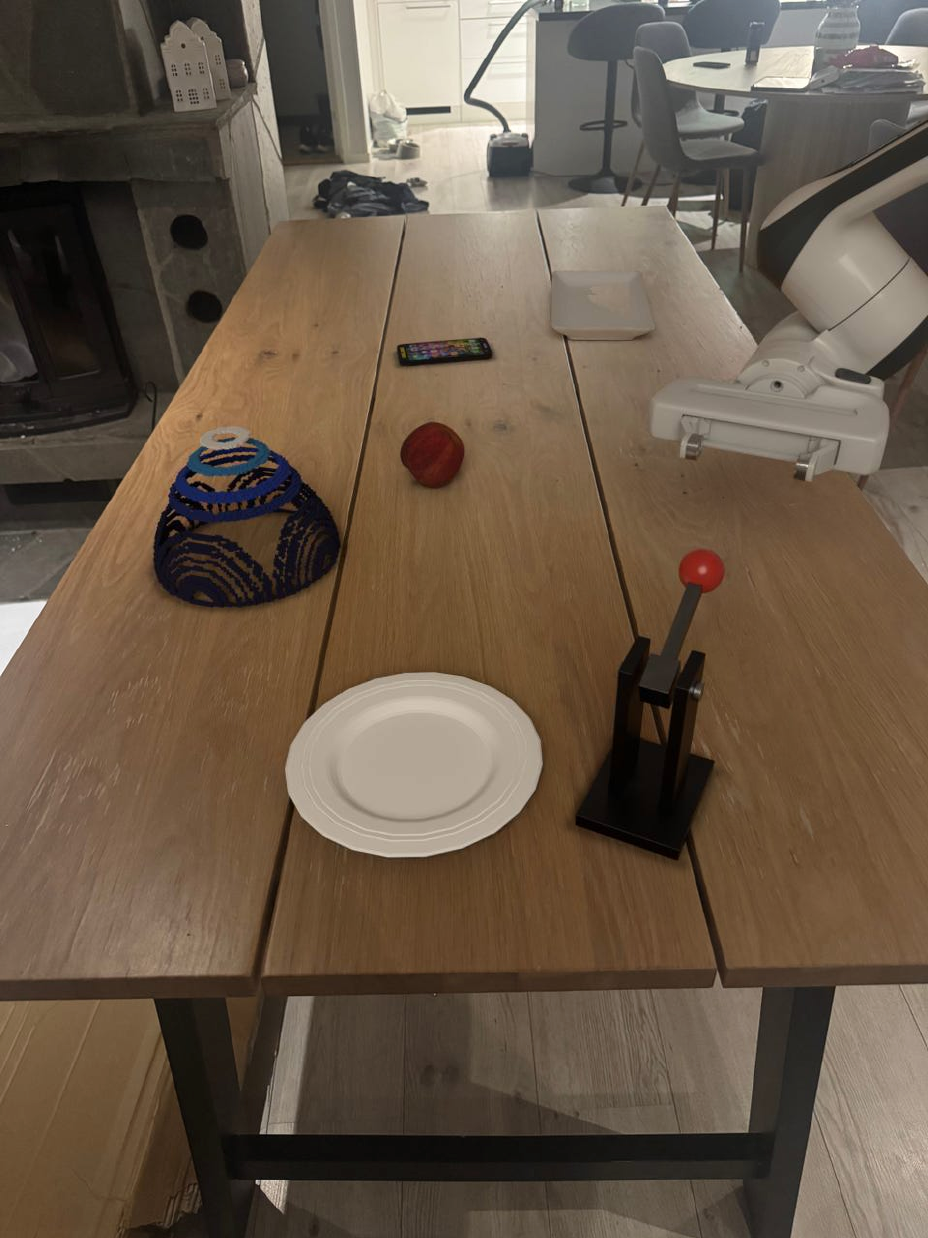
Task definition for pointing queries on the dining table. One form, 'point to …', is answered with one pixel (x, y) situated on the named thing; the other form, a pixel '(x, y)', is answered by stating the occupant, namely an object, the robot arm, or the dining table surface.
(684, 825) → the switch bracket
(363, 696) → the plate
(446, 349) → the smartphone
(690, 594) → the lever
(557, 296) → the tray
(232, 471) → the decorative bowl
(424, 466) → the apple
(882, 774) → the dining table surface
